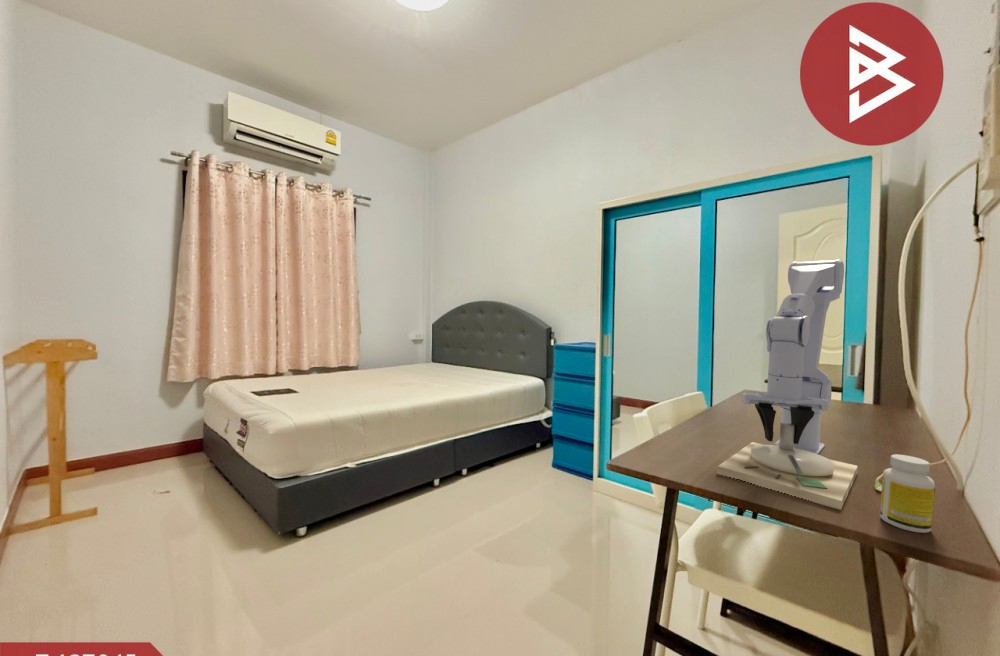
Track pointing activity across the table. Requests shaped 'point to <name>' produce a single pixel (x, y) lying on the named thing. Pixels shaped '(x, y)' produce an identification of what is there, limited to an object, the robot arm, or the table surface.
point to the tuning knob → (791, 456)
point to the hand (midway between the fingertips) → (781, 441)
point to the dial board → (792, 479)
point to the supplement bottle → (908, 494)
